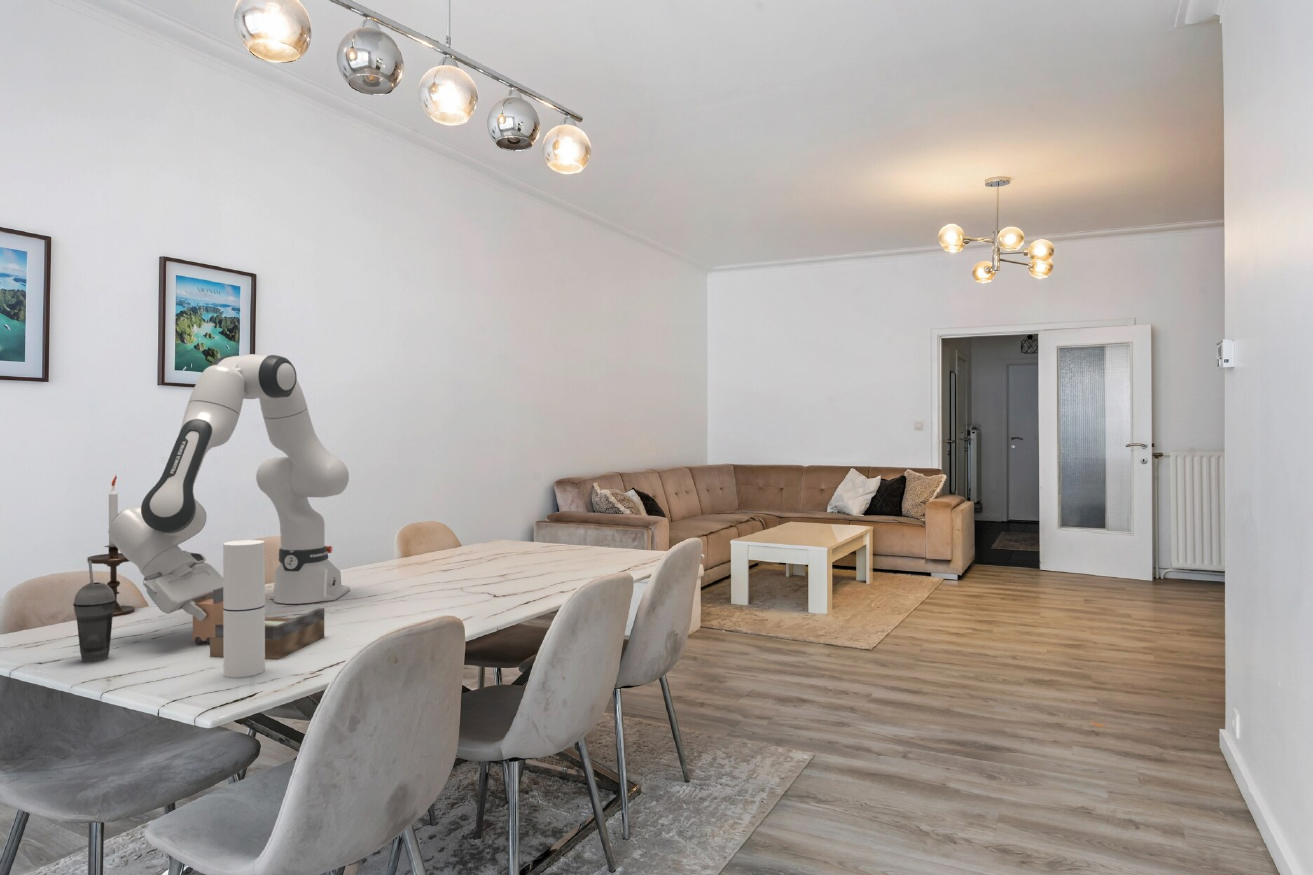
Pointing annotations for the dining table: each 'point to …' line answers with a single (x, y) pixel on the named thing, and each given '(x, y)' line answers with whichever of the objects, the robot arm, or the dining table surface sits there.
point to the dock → (281, 634)
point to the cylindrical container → (244, 608)
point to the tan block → (209, 617)
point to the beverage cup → (94, 619)
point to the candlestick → (113, 556)
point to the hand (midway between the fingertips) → (213, 614)
